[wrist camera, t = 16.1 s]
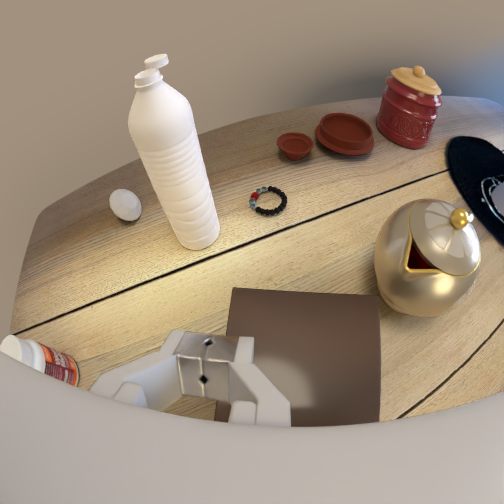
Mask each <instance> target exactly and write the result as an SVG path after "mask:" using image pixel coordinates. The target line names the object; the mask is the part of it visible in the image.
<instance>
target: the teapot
mask: <svg viewBox="0 0 504 504" xmlns="http://www.w3.org/2000/svg"><path fill="white" fill-rule="evenodd" d="M473 221H474V216H473V214H472V213H471V212H467V211H466V210H465V209H463V208H456V207H454V206H453V205H451V204H449V203H447V202H444V201H441V200H437V199H419V200H414V201H411V202H409V203H406V204H405V205H403V206H401V207H400V208H398V209H397V210H396V211H394V212H393V213H392V214H391V215H390V216H389V218H388V219H387V220H386V221H385V223H384V224H383V226H382V228H381V230H380V232H379V234H378V237H377V240H376V244H375V250H374V267H375V272H376V276H377V286H378V290H379V293H380V295H381V297H382V299H383V300H384V301H385V303H386V304H387V305H388V306H389V307H390V308H392V309H393V310H395V311H397V312H399V313H402V314H411V315H414V316H419V317H435V316H440V315H443V314H446V313H448V312H450V311H452V310H454V309H455V308H457V307H458V306H459V305H460V304H461V303H462V302H463V301H464V300H465V299H466V298H467V297H468V296H469V294H470V293H471V291H472V290H473V288H474V286H475V284H476V281H477V279H478V275H479V271H480V265H481V250H480V244H479V240H478V237H477V234H476V231H475V229H474V227H473V226H472V222H473Z"/></svg>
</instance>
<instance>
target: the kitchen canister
mask: <svg viewBox="0 0 504 504" xmlns="http://www.w3.org/2000/svg"><path fill="white" fill-rule="evenodd" d="M391 74H392V76H389V77H387V78H386V79H385V82H386V84H387V87H386V89H385V90H384V91H383V97H382V102H381V106H380V110H379V113H378V115H377V127H378V129H379V130H380V132H381V133H382V134H383V135H384V136H385V137H387V138H388V139H390V140H391V141H393V142H395V143H397V144H399V145H402V146H404V147H408V148H422V147H423V146H425V144H426V143H427V141H428V139H429V137H430V132H431V130H432V127H433V124H434V122H435V119H436V118H437V116H438V113H437V109H438V107H439V106H441V105H442V100H441V98H440V97H439V95H440V94H441V89H440V88H439V87H438V85H437V84H436V82H435V81H434V80H433V79H432V78H430V77H428V76H427V75H425V71H424V69H423V68H422V67H420V66H415V67H414V68H413V69H410V68H406V67H400V68H398V69H393V70H392V71H391Z"/></svg>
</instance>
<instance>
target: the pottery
mask: <svg viewBox="0 0 504 504" xmlns="http://www.w3.org/2000/svg"><path fill="white" fill-rule="evenodd" d="M315 135H316V137H317V139H318V140H319V142H320V143H321V144H323V145H324V146H325V147H327V148H329V149H331V150H333V151H335V152H338V153H342V154H346V155H362V154H366V153H368V152H370V151H371V150H372V149H373V147H374V140H373V138H372V135H373V132H372V129H371V127H370V126H369V125H368V124H367V123H366V122H365V121H363V120H362V119H360V118H358V117H356V116H353V115H350V114H345V113H332V114H328V115H326V116H324V117H323V118H322V119H321V121H320V124H319V125H318V126H317V127H316V130H315ZM277 145H278V147H279V148H280V150H281V151H283V152H284V153H285V154H286V156H287V158H288V159H290V160H293V161H297V160H300V159H302V157H303V156H304V155H306V154H307V153H308V152H310V151H311V149H312V148H313V141H312V140H311V138H309V137H308V136H306V135H304V134H301V133H286V134H283V135H281V136H280V137H279V138H278V140H277Z"/></svg>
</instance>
